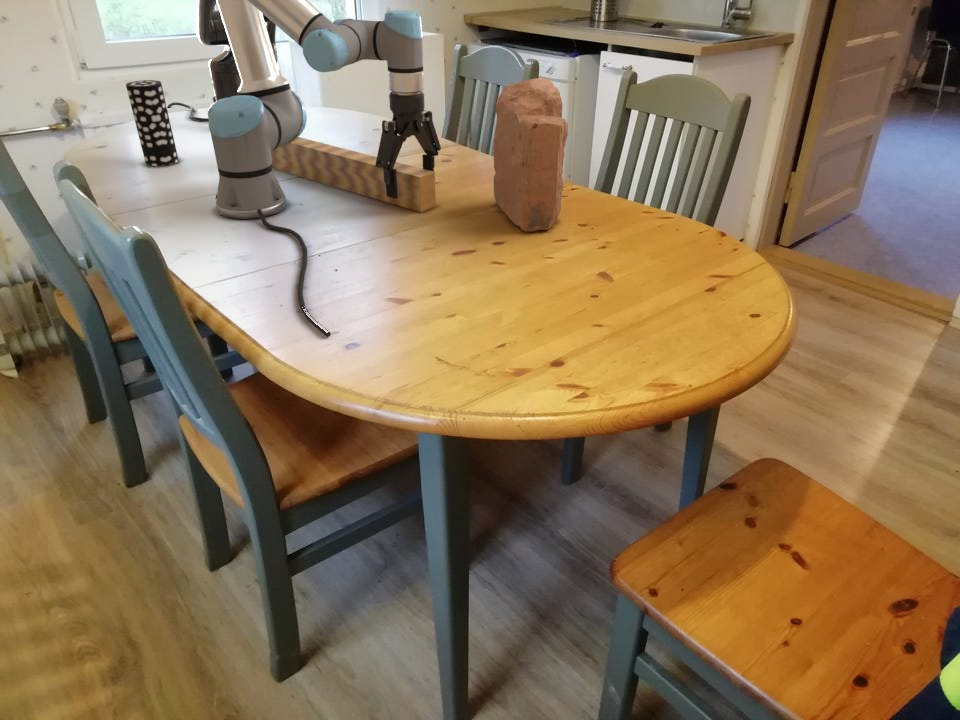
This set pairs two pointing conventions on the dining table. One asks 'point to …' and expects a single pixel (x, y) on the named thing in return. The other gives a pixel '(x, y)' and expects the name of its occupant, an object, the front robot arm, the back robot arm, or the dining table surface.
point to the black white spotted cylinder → (152, 122)
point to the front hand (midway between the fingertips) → (410, 190)
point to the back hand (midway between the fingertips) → (275, 145)
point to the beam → (355, 173)
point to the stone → (529, 153)
